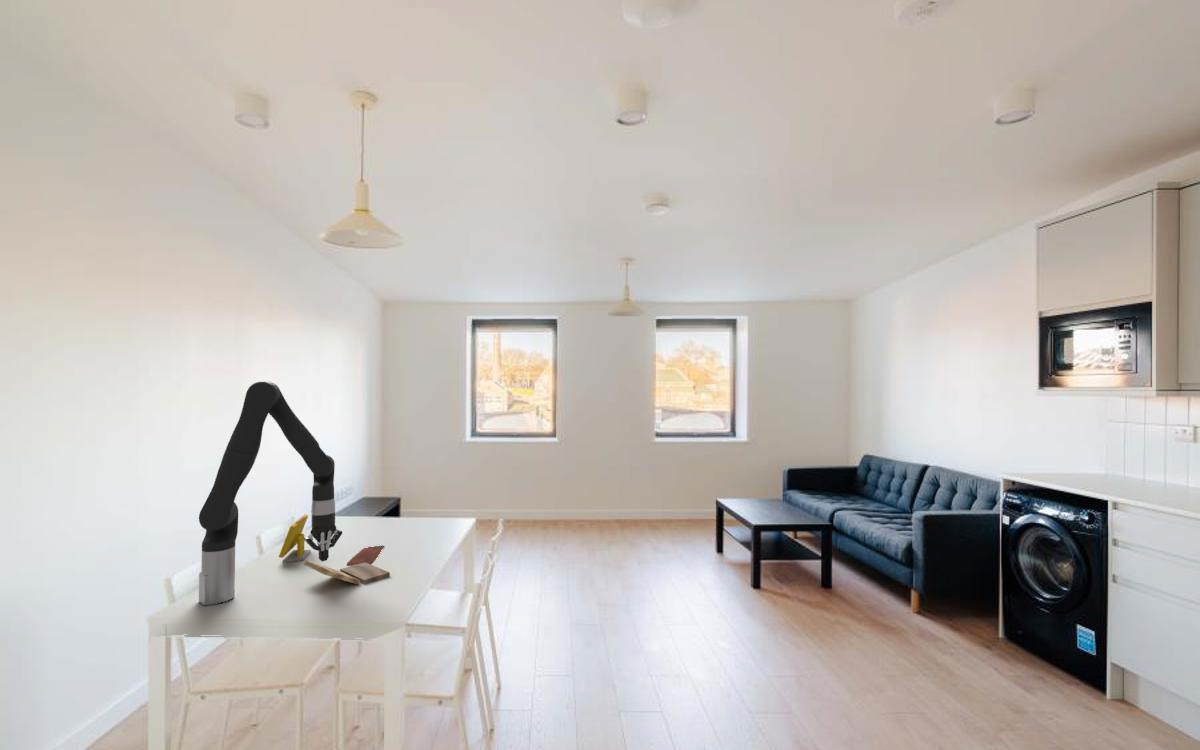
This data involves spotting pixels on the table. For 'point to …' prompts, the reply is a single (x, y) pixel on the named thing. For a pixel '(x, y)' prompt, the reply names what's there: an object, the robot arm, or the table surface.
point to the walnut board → (365, 572)
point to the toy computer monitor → (295, 542)
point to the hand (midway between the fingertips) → (323, 560)
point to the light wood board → (332, 572)
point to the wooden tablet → (366, 556)
